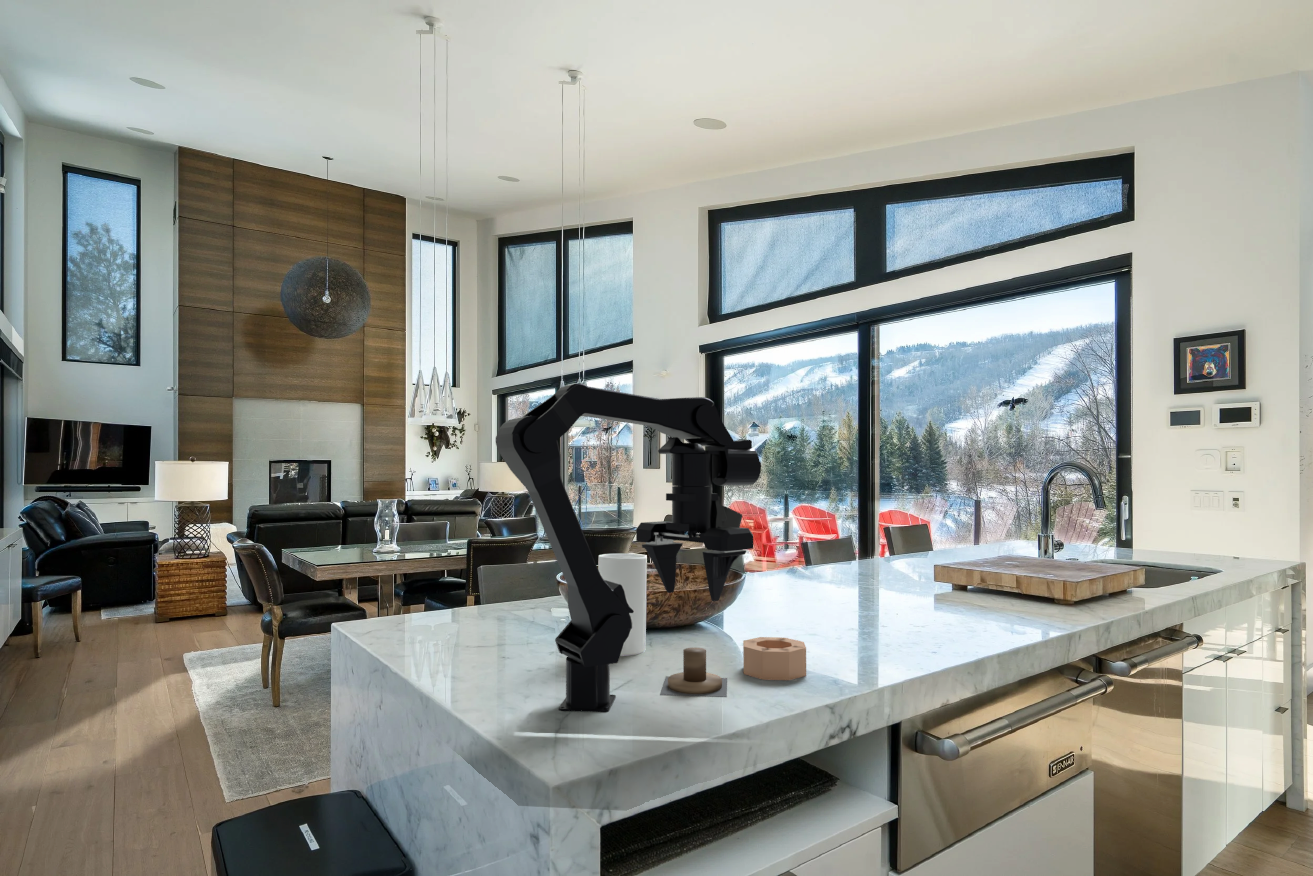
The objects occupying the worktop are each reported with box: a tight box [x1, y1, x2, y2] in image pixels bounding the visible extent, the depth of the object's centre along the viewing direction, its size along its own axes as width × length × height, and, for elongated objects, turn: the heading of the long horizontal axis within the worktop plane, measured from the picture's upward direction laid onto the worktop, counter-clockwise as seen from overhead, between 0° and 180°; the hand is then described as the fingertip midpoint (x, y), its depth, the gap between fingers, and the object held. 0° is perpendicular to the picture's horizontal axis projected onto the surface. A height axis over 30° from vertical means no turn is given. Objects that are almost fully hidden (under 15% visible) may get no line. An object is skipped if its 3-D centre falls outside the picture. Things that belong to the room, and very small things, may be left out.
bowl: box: [742, 636, 807, 681], centre depth 114 cm, size 9×9×4 cm
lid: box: [668, 647, 723, 694], centre depth 106 cm, size 8×8×5 cm
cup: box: [597, 553, 648, 657], centre depth 128 cm, size 8×8×16 cm
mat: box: [659, 675, 728, 698], centre depth 106 cm, size 9×9×1 cm
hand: (692, 596), depth 107 cm, fingers open, 9 cm apart
